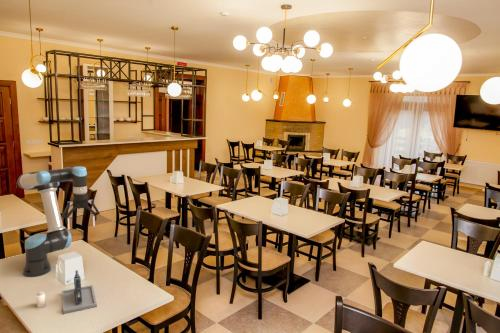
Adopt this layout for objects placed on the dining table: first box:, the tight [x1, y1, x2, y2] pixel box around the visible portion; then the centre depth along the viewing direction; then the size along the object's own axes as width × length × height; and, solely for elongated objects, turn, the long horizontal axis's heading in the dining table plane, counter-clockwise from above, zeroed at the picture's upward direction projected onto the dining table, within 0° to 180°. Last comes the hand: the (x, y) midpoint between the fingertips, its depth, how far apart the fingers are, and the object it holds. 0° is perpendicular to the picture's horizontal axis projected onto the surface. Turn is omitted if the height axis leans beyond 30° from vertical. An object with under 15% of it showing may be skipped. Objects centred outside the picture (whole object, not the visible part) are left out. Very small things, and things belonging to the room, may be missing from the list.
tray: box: [61, 284, 98, 315], centre depth 194 cm, size 22×16×2 cm
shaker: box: [35, 290, 46, 309], centre depth 186 cm, size 4×4×9 cm
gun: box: [73, 269, 82, 304], centre depth 194 cm, size 3×17×15 cm
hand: (81, 227), depth 209 cm, fingers open, 13 cm apart
